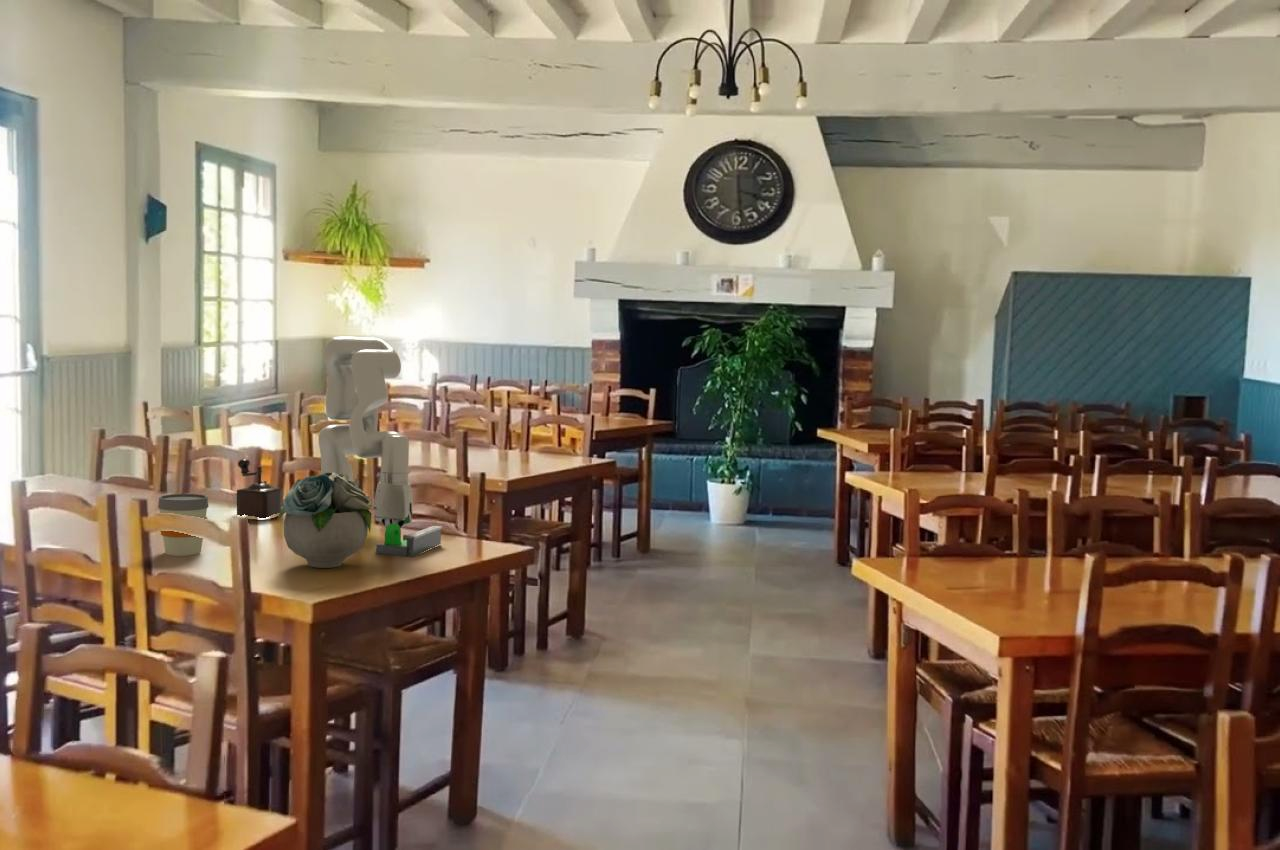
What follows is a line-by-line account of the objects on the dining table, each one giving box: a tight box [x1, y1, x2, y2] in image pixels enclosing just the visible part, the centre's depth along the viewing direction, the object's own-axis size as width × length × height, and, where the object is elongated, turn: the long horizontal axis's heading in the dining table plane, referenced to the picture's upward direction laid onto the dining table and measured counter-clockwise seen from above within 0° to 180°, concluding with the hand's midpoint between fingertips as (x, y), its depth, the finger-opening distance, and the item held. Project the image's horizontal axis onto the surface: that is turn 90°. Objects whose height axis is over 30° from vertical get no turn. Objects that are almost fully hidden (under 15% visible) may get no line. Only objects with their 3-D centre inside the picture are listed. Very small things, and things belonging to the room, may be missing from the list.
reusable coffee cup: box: [157, 493, 209, 557], centre depth 310 cm, size 13×13×15 cm
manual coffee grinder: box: [236, 458, 283, 518], centre depth 371 cm, size 16×11×18 cm
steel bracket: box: [375, 525, 443, 558], centre depth 327 cm, size 11×19×6 cm, turn 166°
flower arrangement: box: [276, 473, 378, 569], centre depth 300 cm, size 25×25×24 cm
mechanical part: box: [384, 524, 407, 546], centre depth 325 cm, size 12×6×8 cm, turn 163°
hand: (393, 542), depth 328 cm, fingers closed
